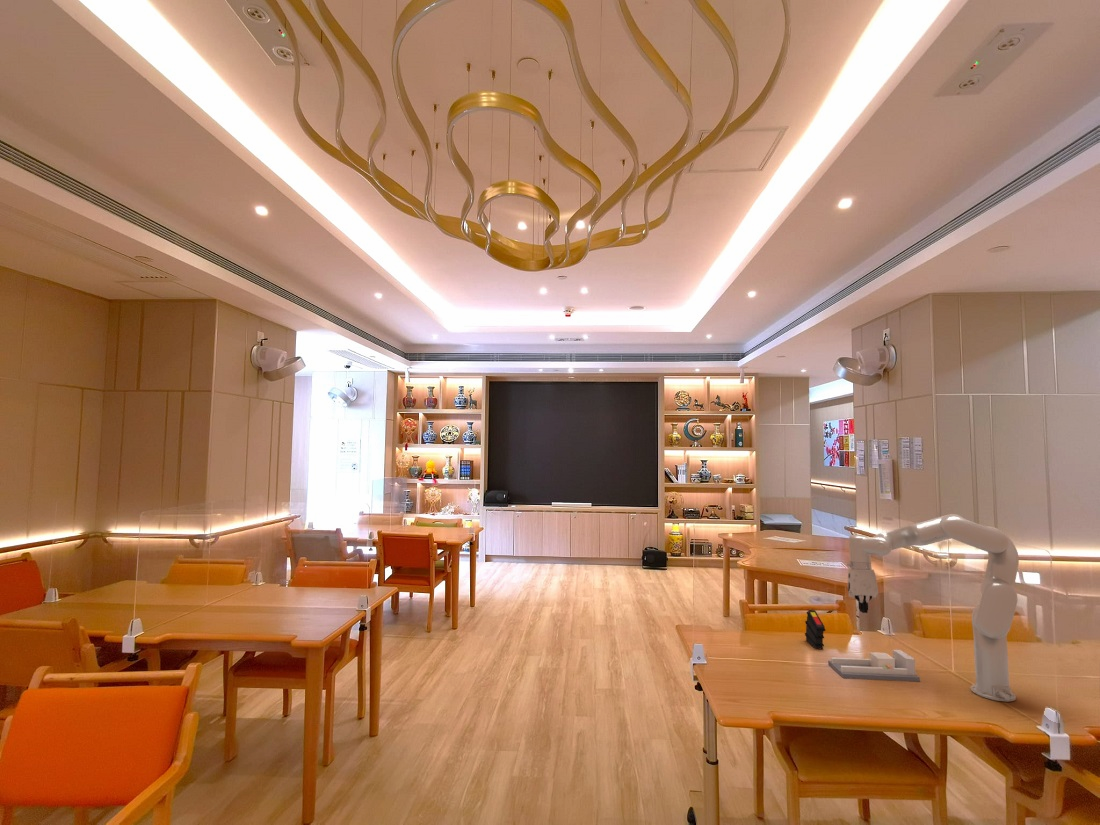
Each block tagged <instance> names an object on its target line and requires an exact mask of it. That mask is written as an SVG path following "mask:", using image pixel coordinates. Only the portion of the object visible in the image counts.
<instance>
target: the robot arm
mask: <svg viewBox="0 0 1100 825" xmlns="http://www.w3.org/2000/svg"><path fill="white" fill-rule="evenodd" d="M950 539H953V540H956V541H958V542H960V543H962V544H965V545H968V546H970V547H973V548H975V549H978V550H981V551H984V552H987V554H988V560H987V563H986V569H985V573H984V575H983V579H982V582H981V584H980V592H981V599H980V600H979V602H980V603H979V604H978V605H976V606H975V607H974V608H973V610H972V612H971V623H972V624H971V625H972V632H973V635H972V636H973V650H974V651H973V652H974V673H975V684H974V683H973V684H972V685H970V690H971V692H973V693H974V694H975V695H977V696H979V697H982V698H985V699H989V700H992V701H998V702H1006V703H1009V702H1014V701H1016V699H1017V698H1016V697H1017V696H1016V694H1015V693H1013V692H1012V691H1011V690H1012V689H1011V688H1012V687H1010V673H1009V672H1010V671H1009V657H1008V654H1009V652H1008V651H1009V650H1008V638H1007V637H1008V636H1007V635H1008V633H1009V632H1010V630H1011V627H1012V623H1013V620H1014V617H1015V611H1016V609H1017V603H1018V594H1017V591H1016V589H1015V583H1016V579H1017V574H1018V570H1019V562H1020V559H1019V552H1018V550H1017V547H1016V545H1015V544H1014V542H1013V541H1012V539H1011V538H1010V537H1009V536H1008V535H1007V534H1006V533H1005V532H1003V531H1002V530H1000V529H999V528H997V527H994V526H989V525H987V526H986V525H982V524H980V523H977V522H974V521H971V520H968V519H966V518H964V516H962V515H960V514H957V513H950V514H946V515H942V516H937V517H934V518H931V519H928V520H925V521H921V522H916V523H913V524H910V525H907V526H904V527H899V528H895V529H892V530H888V531H884V532H880V533H878V534H875V535H874V536H870V537H869V536H867V535H865V534H851V535H849V536H848V549H849V562H847V563H846V566H847V567H849V568H848V572H847V591H848V597H849V598H853V599H855V600H856V601H857V602H858V610H859V611H860V612H861V613H862V614H868V611H869V603H870V601H871V600H872V599H875V598H877V597H878V594H879V587H878V581H877V576H876V573H875V570H874V569H872V568H873V567H872V555H874V556H881V557H885V556H887V555H889V554H890V553H891V552H892V551H894V550H898V549H902V548H906V547H911V546H912V547H913V546H919V547H922V546H928V545H932V544H934V543H939V542H942V541H945V540H946V541H947V540H950Z"/></svg>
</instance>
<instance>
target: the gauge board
mask: <svg viewBox="0 0 1100 825" xmlns="http://www.w3.org/2000/svg"><path fill="white" fill-rule="evenodd" d="M892 658H894V659H895V668H888V667H872V666H871V665H870V658H853V657H832V656H831V660H827V663H828V664H827V665H828V666H830V667H831V668H832V669H833V670H834V671H835V672H836V673H837V674H838V675H839V676H841V678H842V679H850V680H851V679H855V680H856V679H857V680H875V681H876V680H879V681H896V682H897V681H899V682H903V681H904V682H921V678H920V676H919V675H917V674H916V659H915V658H914V657H912V656H911V655H909V654H908V653H906V652H904V651H903V650H901V649H892Z"/></svg>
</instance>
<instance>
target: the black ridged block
mask: <svg viewBox="0 0 1100 825" xmlns="http://www.w3.org/2000/svg"><path fill="white" fill-rule="evenodd" d="M806 615H807V616H806V620H805V621H804V624H805V625H806V628H805V632H804V636H805V641H806V642H807V643H808V644H809V645H810V646H812V647H813V648H814V649H816V650H823V649H824V647H825V644H824V643H823V642H824V641H823V640H824V639H825V637H824V632H826V629H825V625H824V623H823V621H822V620H821V618H820V616H819V614H818V613H817V611H816V610H815V609H808V610H807V611H806Z"/></svg>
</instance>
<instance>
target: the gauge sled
mask: <svg viewBox="0 0 1100 825" xmlns="http://www.w3.org/2000/svg"><path fill="white" fill-rule="evenodd" d="M869 656H870V658H869V659H870V665H871V666H872V667H888V668H895V659H894V658H893V656H891V655H889V654H888V653H886V652H876V651H875V652H871V651H870V652H869Z"/></svg>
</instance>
